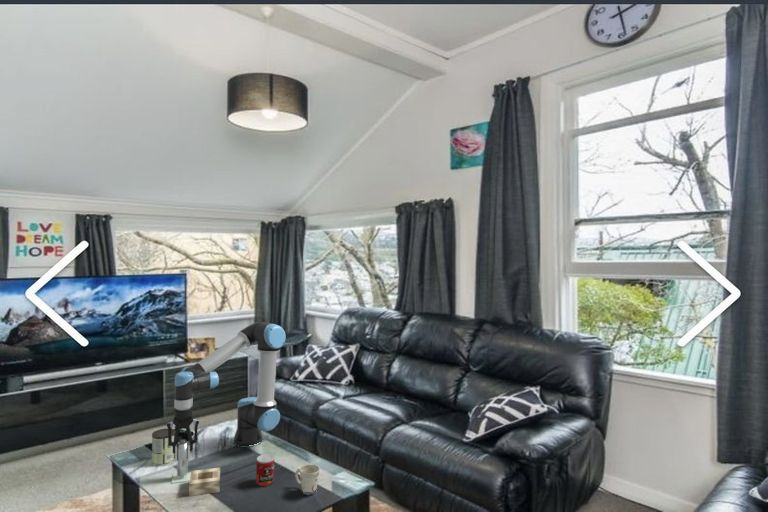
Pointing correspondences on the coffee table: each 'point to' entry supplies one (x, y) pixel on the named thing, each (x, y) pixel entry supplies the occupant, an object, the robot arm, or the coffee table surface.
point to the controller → (183, 435)
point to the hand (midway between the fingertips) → (182, 459)
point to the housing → (204, 481)
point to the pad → (181, 478)
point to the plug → (182, 458)
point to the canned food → (265, 469)
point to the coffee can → (162, 448)
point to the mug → (308, 477)
